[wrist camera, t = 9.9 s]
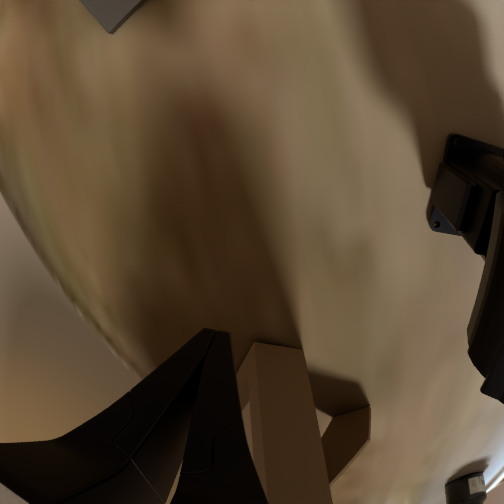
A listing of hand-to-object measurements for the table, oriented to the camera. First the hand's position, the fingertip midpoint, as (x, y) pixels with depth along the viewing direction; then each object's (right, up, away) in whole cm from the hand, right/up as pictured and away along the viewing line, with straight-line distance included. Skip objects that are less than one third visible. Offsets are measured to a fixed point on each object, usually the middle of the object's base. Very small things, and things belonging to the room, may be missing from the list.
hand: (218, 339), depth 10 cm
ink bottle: (+45, -44, +31) cm, 70 cm away
